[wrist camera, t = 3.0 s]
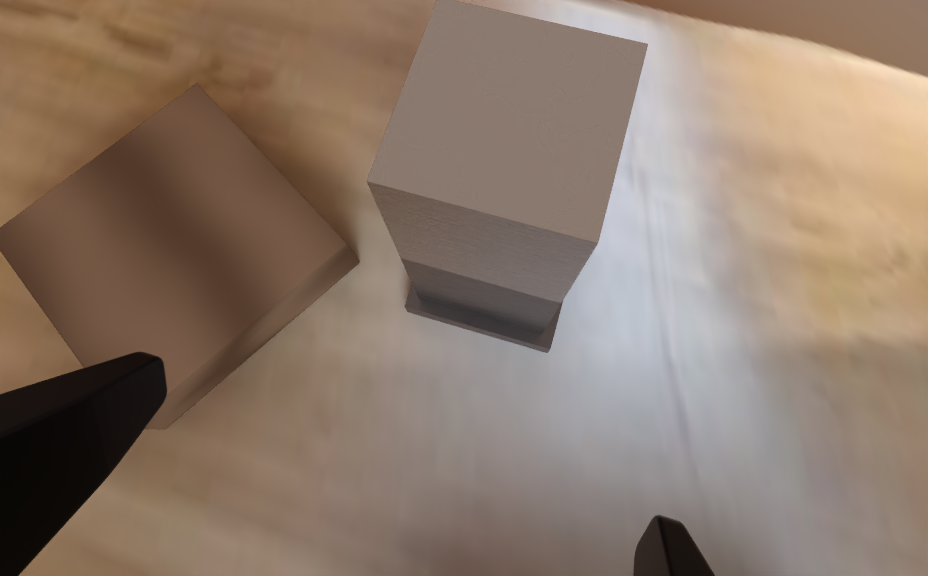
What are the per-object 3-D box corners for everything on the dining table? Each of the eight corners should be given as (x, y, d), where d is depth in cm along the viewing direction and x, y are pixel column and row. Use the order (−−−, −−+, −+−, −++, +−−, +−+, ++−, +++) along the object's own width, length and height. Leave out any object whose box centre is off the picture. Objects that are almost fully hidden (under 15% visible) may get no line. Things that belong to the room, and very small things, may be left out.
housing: (547, 352, 23) (615, 269, 11) (407, 312, 24) (339, 194, 12) (581, 221, 25) (672, 32, 13) (450, 186, 25) (426, -22, 14)
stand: (165, 429, 22) (127, 428, 20) (36, 254, 25) (-11, 235, 22) (359, 262, 24) (346, 243, 22) (222, 114, 27) (197, 83, 24)
